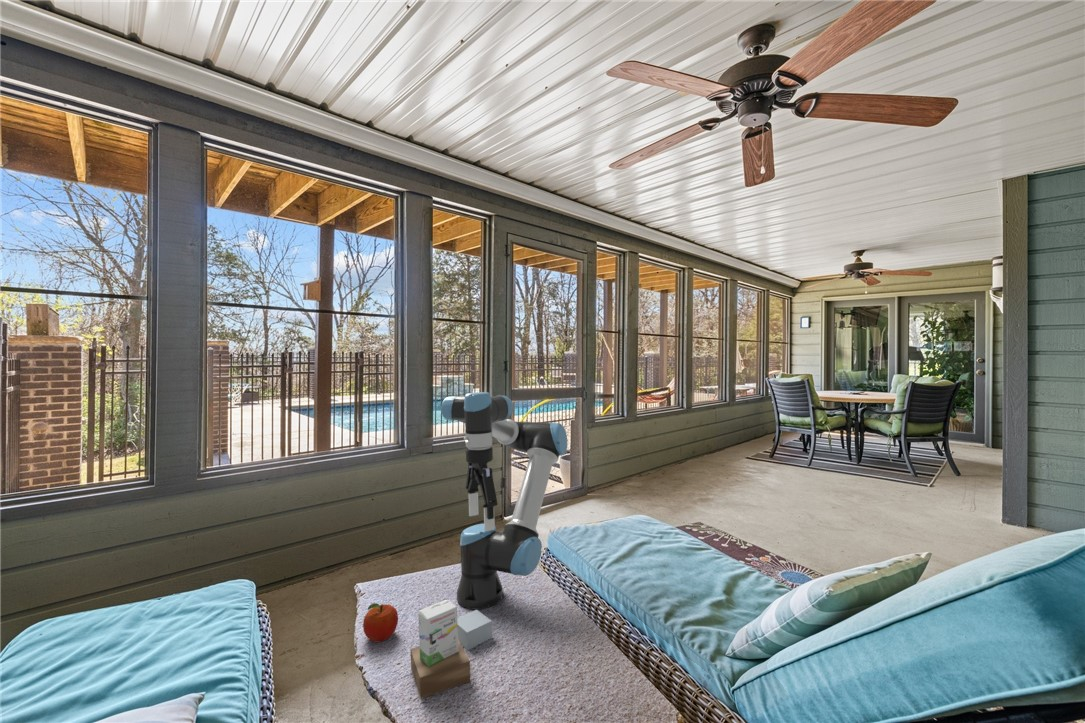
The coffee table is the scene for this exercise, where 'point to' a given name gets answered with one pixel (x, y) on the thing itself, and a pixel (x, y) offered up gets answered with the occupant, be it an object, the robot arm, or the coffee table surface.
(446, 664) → the walnut block
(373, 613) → the fruit
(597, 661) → the coffee table surface
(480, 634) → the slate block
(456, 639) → the ink box
